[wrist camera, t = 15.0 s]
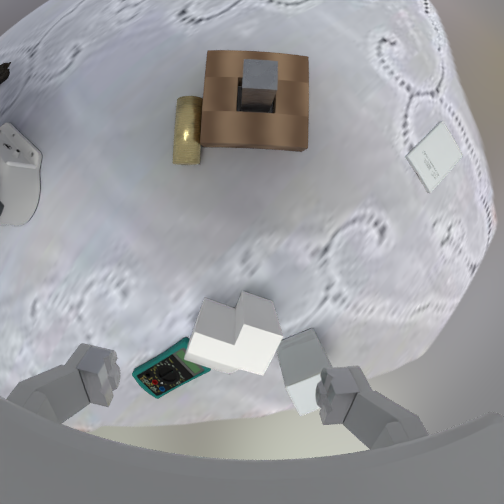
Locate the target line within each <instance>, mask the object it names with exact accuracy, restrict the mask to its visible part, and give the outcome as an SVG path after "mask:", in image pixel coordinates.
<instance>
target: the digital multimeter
mask: <svg viewBox="0 0 504 504" xmlns="http://www.w3.org/2000/svg"><path fill="white" fill-rule="evenodd" d="M188 344H189V339H188V338H183V339H182V340H181V341H179V342H178V343H176V344H175V345H174V346H172V347H171V348H169V349H168V350H166V351H165V352H163V353H162V354H160V355H158V356H157V357H155V358H153V359H152V360H150V361H148V362H146V363H145V364H143V365H141V366H139V367H137V368H135V369H134V371H133V373H132V376H133V377H134V378H135V380H136V381H137V383H138V384H139V385H140V386H141V387H142V388H143V389H144V390H145V391H146V392H148V393H149V394H150V395H152V396H153V397H155V398H157V399H158V398H160V397H162V396H163V395H165V394H167V393H169V392H170V391H172V390H174V389H176V388H177V387H179V386H181V385H183V384H185V383H187V382H189V381H191V380H193V379H195V378H197V377H199V376H201V375H203V374H205V373H207V372H209V371H210V370H211V368H208V367H205V366H202V365H199V364H196V363H193V362H190V361H187V360H184V357H185V354H186V350H187V347H188ZM168 356H169V357H168ZM163 359H164V360H163ZM158 362H159V363H158ZM153 365H154V366H153Z"/></svg>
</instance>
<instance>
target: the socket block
mask: <svg viewBox="0 0 504 504" xmlns="http://www.w3.org/2000/svg"><path fill="white" fill-rule="evenodd" d="M244 59H255V60H270V61H278V85H277V92H276V95H275V97H274V100H273V112H272V113H261V112H239V111H237V95H238V86H242V81H243V63H244ZM308 116H309V62H308V57H307V56H299V55H291V54H282V53H271V52H257V51H230V50H212V51H208V52H207V61H206V71H205V82H204V93H203V106H202V120H201V135H200V144H201V145H202V146H203V147H231V148H257V149H274V150H288V151H300V152H302V151H304V150H305V149H307V148H308Z"/></svg>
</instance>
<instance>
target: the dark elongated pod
mask: <svg viewBox="0 0 504 504" xmlns="http://www.w3.org/2000/svg"><path fill="white" fill-rule="evenodd" d="M10 63H11V62H10ZM10 63H3V64H1V65H0V84H1V83H2V82H3V81H5V80H6V79H7V78H8V76H9V73H10V72H9V70H10V69H7V68H8V67H9V65H10Z"/></svg>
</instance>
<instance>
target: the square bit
mask: <svg viewBox="0 0 504 504" xmlns="http://www.w3.org/2000/svg"><path fill="white" fill-rule="evenodd" d="M277 85H278V61H270V60H255V59H244V63H243V81H242V104H241V112H261V113H268V112H269V109H270V107H271V104H272V102H273V100H274V97H275V95H276V92H277Z"/></svg>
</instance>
